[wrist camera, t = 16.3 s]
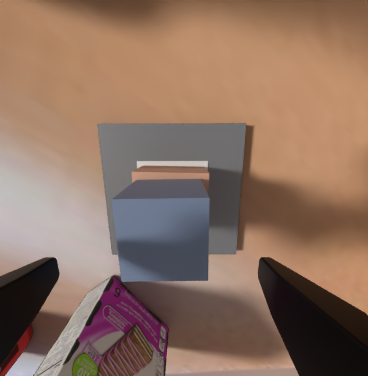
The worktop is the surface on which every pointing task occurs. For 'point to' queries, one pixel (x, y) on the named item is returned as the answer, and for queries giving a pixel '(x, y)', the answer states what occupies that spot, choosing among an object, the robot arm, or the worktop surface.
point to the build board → (180, 156)
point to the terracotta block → (171, 173)
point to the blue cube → (162, 230)
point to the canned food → (16, 352)
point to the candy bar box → (109, 338)
